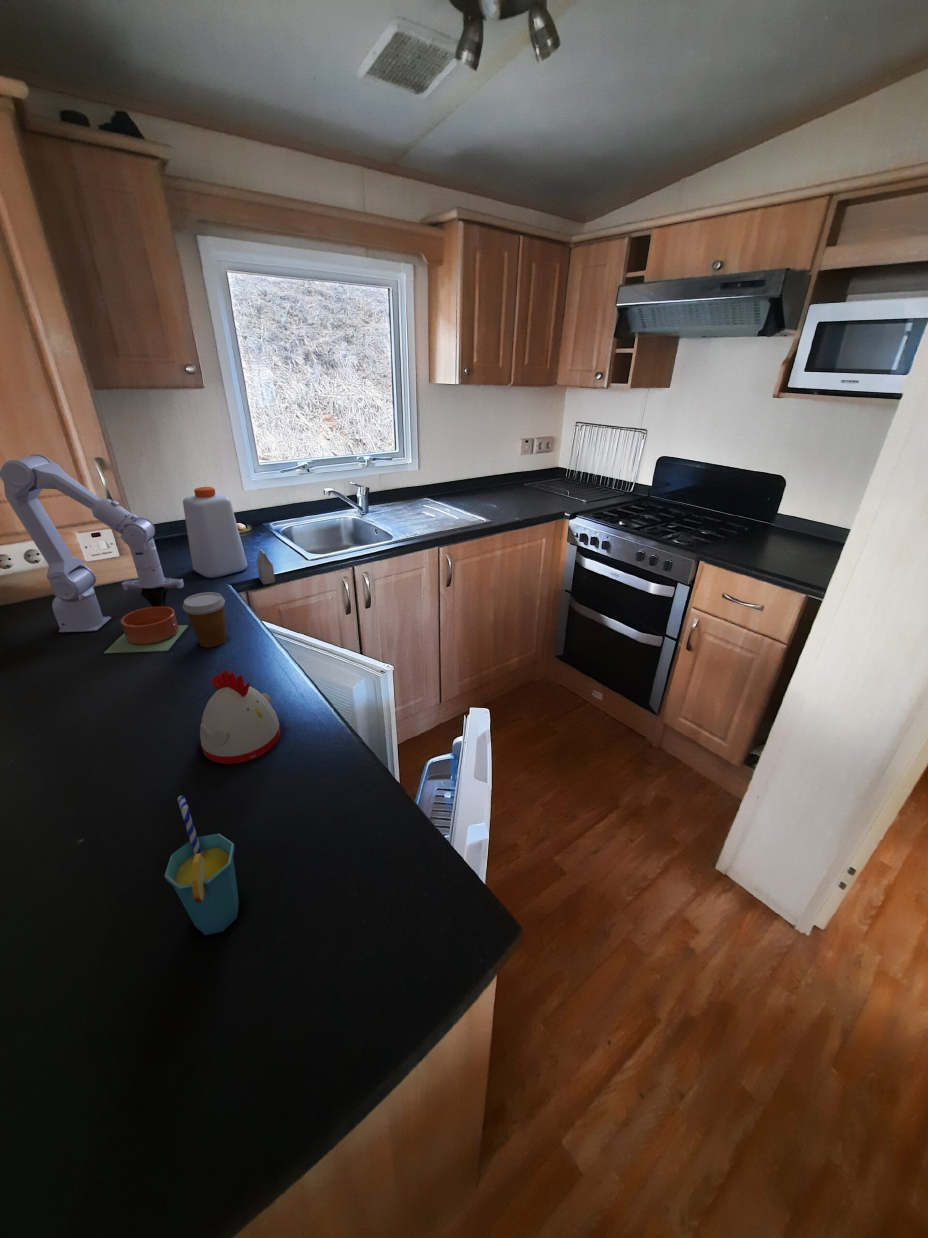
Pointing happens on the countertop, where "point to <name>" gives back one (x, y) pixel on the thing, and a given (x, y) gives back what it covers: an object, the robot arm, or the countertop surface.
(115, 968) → the countertop surface
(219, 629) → the disposable coffee cup
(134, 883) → the countertop surface
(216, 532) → the plastic bottle
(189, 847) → the cup
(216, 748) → the kitchen timer
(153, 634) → the bowl
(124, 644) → the mat
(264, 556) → the beige gable carton
